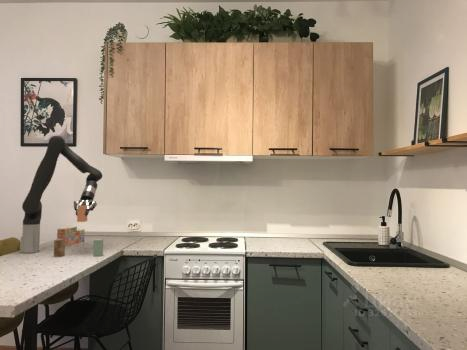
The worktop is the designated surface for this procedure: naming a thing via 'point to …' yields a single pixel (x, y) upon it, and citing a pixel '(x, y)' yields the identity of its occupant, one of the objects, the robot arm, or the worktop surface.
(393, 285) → the worktop surface
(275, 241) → the worktop surface
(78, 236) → the stack of blocks
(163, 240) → the worktop surface
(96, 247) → the sage green block
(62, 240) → the walnut block
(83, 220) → the terracotta block
